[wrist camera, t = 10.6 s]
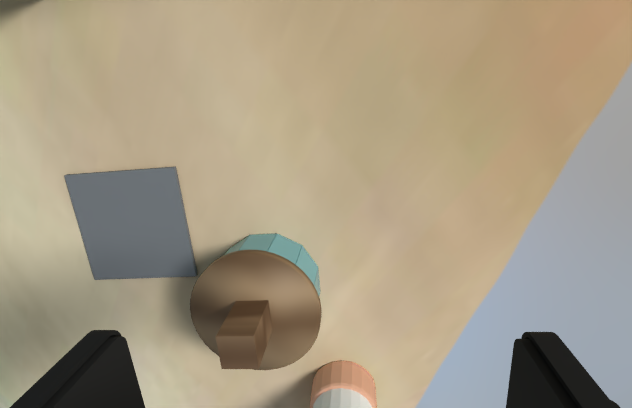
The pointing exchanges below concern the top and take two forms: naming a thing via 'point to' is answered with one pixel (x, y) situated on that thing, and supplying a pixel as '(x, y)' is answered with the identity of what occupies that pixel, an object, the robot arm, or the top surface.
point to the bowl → (281, 252)
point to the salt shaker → (343, 387)
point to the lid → (256, 310)
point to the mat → (133, 223)
